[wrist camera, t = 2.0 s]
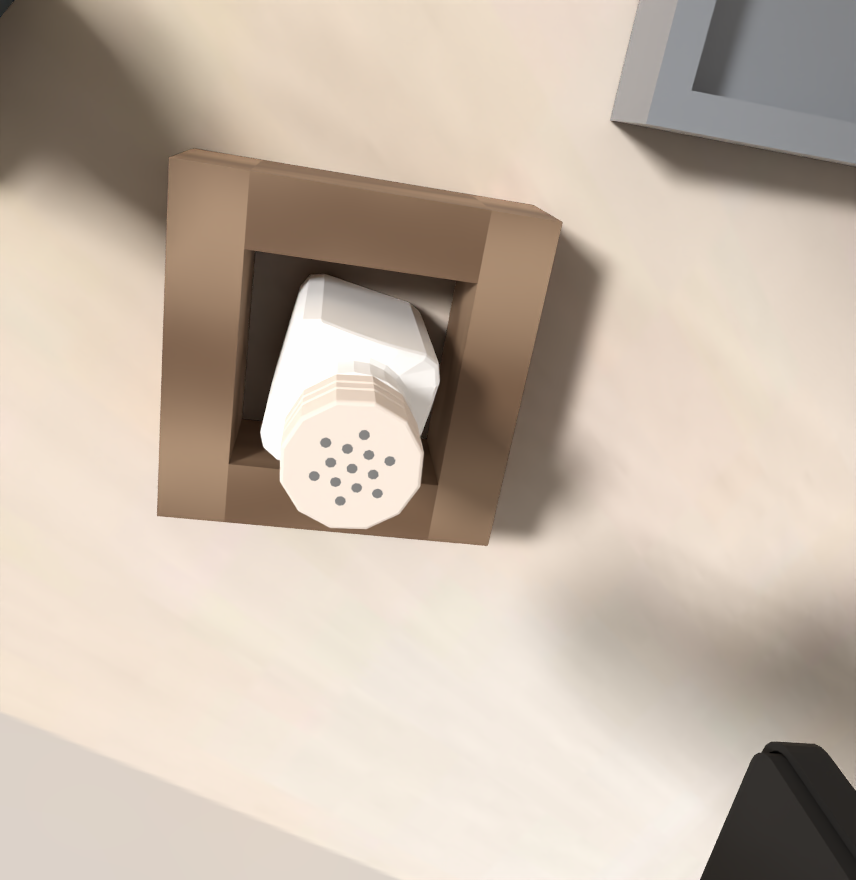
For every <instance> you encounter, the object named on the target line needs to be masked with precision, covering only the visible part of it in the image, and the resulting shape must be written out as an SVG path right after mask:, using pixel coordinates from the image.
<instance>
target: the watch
mask: <svg viewBox="0 0 856 880" xmlns="http://www.w3.org/2000/svg"><path fill="white" fill-rule="evenodd" d="M13 1H14V0H0V17H1V16H2V15H3V13H4V12H5V11H6V10H7V9H8V7H9V6H10V5H11V4H12V3H13Z"/></svg>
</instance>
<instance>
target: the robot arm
mask: <svg viewBox="0 0 856 880" xmlns="http://www.w3.org/2000/svg"><path fill="white" fill-rule="evenodd" d="M700 880H856V791H855V789H854V788H853V787H852V785H851V784H850V783H849V781H848V780H847V779H846V777H845V776H844V775H843V773H842V772H841V771H840V769H839V768H838V767H837V765H836V764H835V763H834V761H833V760H832V759H831V757H830V756H829V755H828V753H827V752H826V751H825V750H824V749H823V748H822V747H820V746H818V745H816V744H806V743H789V742H770V743H769V744H767V745H766V746H765V747H764V749H763V751H762V752H761V753H757V754H756V755H754V757H753V758H752V760H751V762H750V764H749V767H748V769H747V771H746V774H745V776H744V778H743V781H742V783H741V785H740V788H739V790H738V792H737V795H736V797H735V799H734V802H733V804H732V806H731V809H730V811H729V813H728V816H727V818H726V820H725V823H724V825H723V827H722V830H721V832H720V834H719V837H718V839H717V841H716V844H715V846H714V848H713V851H712V853H711V855H710V858H709V860H708V862H707V865H706V867H705V869H704V872H703V874H702V876H701V879H700Z"/></svg>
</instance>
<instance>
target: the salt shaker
mask: <svg viewBox="0 0 856 880" xmlns="http://www.w3.org/2000/svg"><path fill="white" fill-rule="evenodd" d="M439 383H440V375H439V363H438V360H437V357H436V354H435V352H434V349H433V346H432V343H431V341H430V338H429V335H428V333H427V330H426V327H425V324H424V322H423V319H422V316H421V313H420V312H419V311H418V310H417V309H416V308H415V307H414V306H413V305H412V304H410V303H409V302H406V301H403V300H400V299H397V298H394V297H391V296H388V295H385V294H383V293H380V292H377V291H374V290H371V289H368V288H365V287H362V286H359V285H356V284H353V283H350V282H347V281H344V280H341V279H338V278H335V277H333V276H330V275H327V274H314V275H309V276H308V278H307V279H306V280H305V281H304V282H303V283H302V285H301V286H300V289H299V292H298V295H297V299H296V302H295V305H294V308H293V312H292V315H291V318H290V321H289V325H288V328H287V331H286V335H285V338H284V341H283V344H282V348H281V351H280V354H279V357H278V361H277V364H276V367H275V372H274V376H273V380H272V384H271V389H270V393H269V397H268V402H267V406H266V410H265V414H264V419H263V423H262V427H261V431H260V433H261V438H262V443H263V447H264V448H265V449H266V450H267V451H268V452H269V453H270V454H272V455H273V456H274V457H275V458H276V459H277V460H280V483H281V484H282V486H283V487H284V489H285V491H286V492H287V494H288V495H289V497H290V499H291V500H292V502H293V503H294V505H295V507H296V508H297V510H298V511H299V512H301V513H303V514H305V515H307V516H309V517H311V518H312V519H314V520H316V521H318V522H320V523H322V524H324V525H326V526H327V527H329V528H348V529H368V528H370V527H372V526H374V525H376V524H379V523H381V522H383V521H385V520H387V519H390V518H392V517H394V516H396V515H398V514H400V513H401V511H402V510H403V509H404V507H405V506H406V505H407V503H408V502H409V501H410V499H411V498H412V497H413V496H414V494H415V493H416V492H417V490H418V489H419V488H420V486H421V477H422V468H423V458H424V450H423V446H422V442H421V439H420V436H421V434H422V431H423V429H424V426H425V423H426V420H427V418H428V415H429V412H430V410H431V407H432V404H433V401H434V398H435V395H436V392H437V389H438V386H439Z"/></svg>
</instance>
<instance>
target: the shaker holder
mask: <svg viewBox="0 0 856 880" xmlns="http://www.w3.org/2000/svg"><path fill="white" fill-rule="evenodd" d="M561 227H562V221H560V220H558V219H556V218H555V217H553V216H551V215H550V214H548V213H546V212H544V211H543V210H541V209H539V208H537V207H536V206H534V205H530V204H524V203H518V202H512V201H506V200H500V199H494V198H488V197H482V196H476V195H470V194H464V193H458V192H452V191H446V190H440V189H434V188H428V187H422V186H416V185H410V184H404V183H398V182H392V181H386V180H380V179H374V178H368V177H362V176H356V175H350V174H344V173H338V172H332V171H326V170H320V169H314V168H308V167H302V166H296V165H290V164H284V163H278V162H272V161H266V160H260V159H254V158H248V157H242V156H236V155H230V154H224V153H218V152H212V151H206V150H200V149H194V148H192V149H190V150H187V151H184V152H182V153H179V154H176V155H174V156H171V157H169V168H168V198H167V229H166V259H165V289H164V320H163V350H162V381H161V411H160V442H159V472H158V503H157V516H163V517H174V518H185V519H197V520H208V521H219V522H230V523H241V524H252V525H263V526H274V527H285V528H296V529H307V530H318V531H329V532H340V533H351V534H362V535H373V536H384V537H396V538H407V539H418V540H429V541H440V542H451V543H462V544H473V545H484V546H488V543H489V538H490V534H491V530H492V525H493V521H494V517H495V512H496V508H497V504H498V499H499V495H500V491H501V486H502V482H503V478H504V473H505V469H506V465H507V460H508V456H509V452H510V447H511V443H512V439H513V434H514V430H515V426H516V421H517V417H518V413H519V408H520V404H521V400H522V395H523V391H524V387H525V382H526V378H527V374H528V369H529V365H530V361H531V357H532V352H533V348H534V344H535V339H536V335H537V331H538V326H539V322H540V318H541V313H542V309H543V305H544V300H545V296H546V292H547V287H548V283H549V279H550V274H551V270H552V266H553V261H554V257H555V253H556V248H557V244H558V240H559V235H560V231H561ZM255 251H260V252H267V253H274V254H281V255H287V256H294V257H301V258H308V259H314V260H321V261H328V262H335V263H342V264H348V265H355V266H362V267H369V268H375V269H382V270H389V271H396V272H402V273H409V274H416V275H423V276H430V277H436V278H443V279H450V280H456V283H455V288H454V294H453V299H452V305H451V310H450V316H449V321H448V326H447V332H446V337H445V343H444V348H443V354H442V359H441V365H440V370H439V375H440V383H439V386H438V389H437V392H436V395H435V398H434V403H433V408H432V414H431V419H430V425H429V430H428V436H427V440H425V439H421V442H422V446H423V450H424V458H423V468H422V477H421V486H420V488H419V489H418V490H417V492H416V493H415V494H414V496H413V497H412V498H411V499H410V501H409V502H408V503H407V505H406V506H405V507H404V509H403V510H402V511H401V513H400V514H398V515H396V516H394V517H392V518H390V519H387V520H385V521H383V522H381V523H379V524H376V525H374V526H372V527H370V528H368V529H348V528H329V527H327V526H326V525H324V524H322V523H320V522H318V521H316V520H314V519H312V518H311V517H309V516H307V515H305V514H303V513H301V512H299V511H298V510H297V508H296V507H295V505H294V503H293V502H292V500H291V499H290V497H289V495H288V494H287V492H286V491H285V489H284V487H283V486H282V484H281V483H280V460H277V459H276V458H275V457H274V456H273V455H272V454H270V453H269V452H268V451H267V450H266V449H265V448H264V447H263V443H262V438H261V433H260V431H261V427H262V423H263V421H256V420H247V419H242V413H243V400H244V388H245V375H246V362H247V349H248V337H249V324H250V311H251V298H252V286H253V273H254V260H255Z"/></svg>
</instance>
